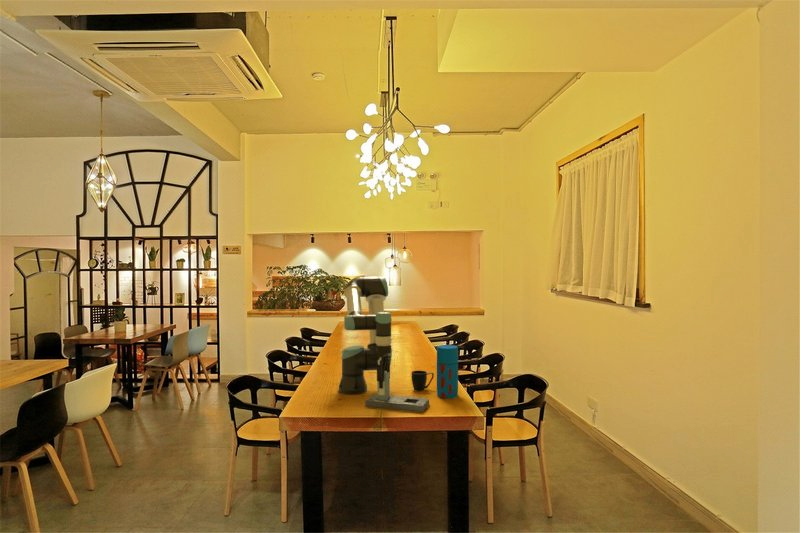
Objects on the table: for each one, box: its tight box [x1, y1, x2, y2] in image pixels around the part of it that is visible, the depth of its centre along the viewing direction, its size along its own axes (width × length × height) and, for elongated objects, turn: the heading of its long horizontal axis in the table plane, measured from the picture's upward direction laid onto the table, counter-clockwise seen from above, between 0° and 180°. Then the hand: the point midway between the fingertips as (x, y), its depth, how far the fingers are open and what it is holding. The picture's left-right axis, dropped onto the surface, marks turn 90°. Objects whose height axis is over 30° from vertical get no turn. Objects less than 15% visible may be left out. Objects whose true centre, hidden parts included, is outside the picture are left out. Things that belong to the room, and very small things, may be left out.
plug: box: [376, 371, 391, 400], centre depth 216 cm, size 4×4×15 cm
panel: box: [364, 393, 430, 414], centre depth 214 cm, size 28×12×3 cm, turn 72°
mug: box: [411, 370, 435, 392], centre depth 242 cm, size 8×12×10 cm
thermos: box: [436, 344, 459, 400], centre depth 231 cm, size 11×11×25 cm
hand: (383, 393), depth 216 cm, fingers closed on plug, 4 cm apart
